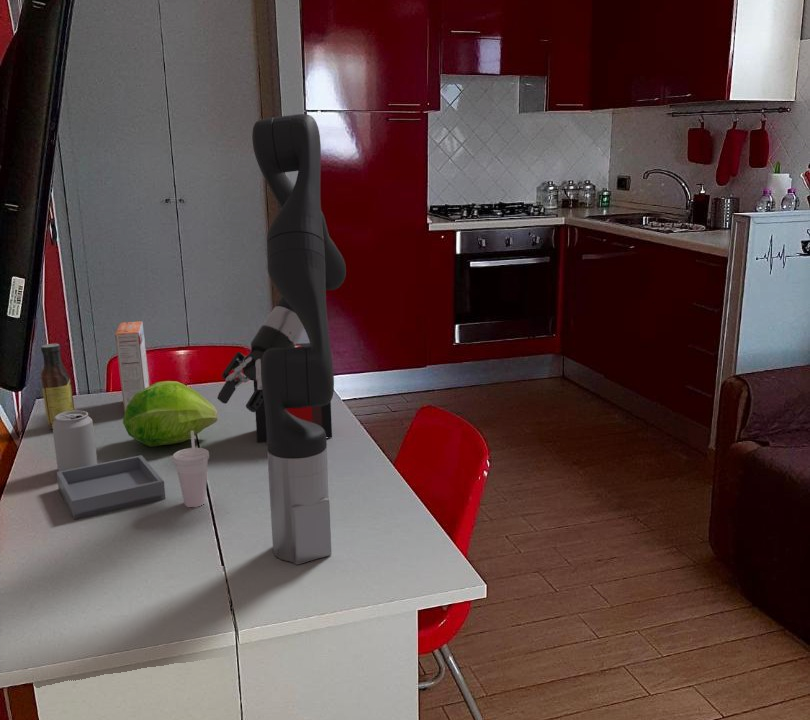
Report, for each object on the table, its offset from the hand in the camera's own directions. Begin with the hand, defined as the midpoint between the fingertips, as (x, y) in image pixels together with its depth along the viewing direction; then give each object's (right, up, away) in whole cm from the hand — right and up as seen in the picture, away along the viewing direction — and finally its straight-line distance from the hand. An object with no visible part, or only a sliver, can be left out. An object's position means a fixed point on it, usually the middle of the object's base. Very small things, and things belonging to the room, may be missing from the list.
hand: (235, 405), depth 151 cm
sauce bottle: (-49, -8, +39) cm, 63 cm away
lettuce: (-20, -10, +28) cm, 36 cm away
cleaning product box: (+7, -8, +33) cm, 34 cm away
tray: (-24, -17, +1) cm, 29 cm away
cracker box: (-36, -4, +54) cm, 65 cm away
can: (-35, -14, +13) cm, 39 cm away
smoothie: (-7, -18, -4) cm, 19 cm away
